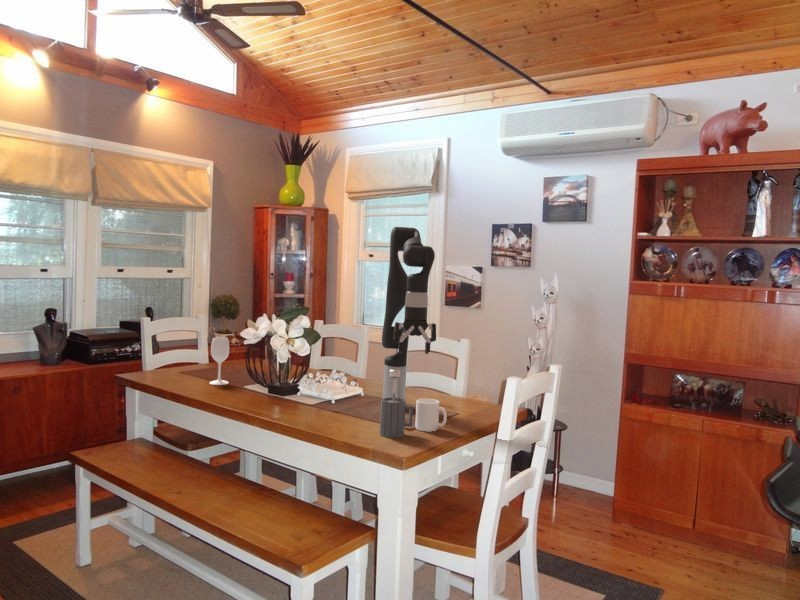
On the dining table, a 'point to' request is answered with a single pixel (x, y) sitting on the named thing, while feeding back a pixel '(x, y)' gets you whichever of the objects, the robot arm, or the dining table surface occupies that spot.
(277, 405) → the dining table surface
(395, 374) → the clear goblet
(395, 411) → the gray tankard
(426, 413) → the cup
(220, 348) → the wineglass
